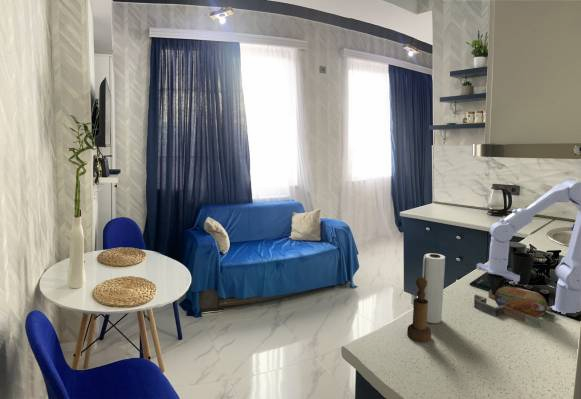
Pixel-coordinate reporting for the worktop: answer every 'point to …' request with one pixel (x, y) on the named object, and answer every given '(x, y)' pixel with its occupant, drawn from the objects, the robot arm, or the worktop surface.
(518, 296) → the tin
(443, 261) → the paper towel roll
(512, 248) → the supplement container
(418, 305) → the mortar and pestle
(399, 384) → the worktop surface
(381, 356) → the worktop surface
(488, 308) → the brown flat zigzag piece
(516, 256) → the cup
